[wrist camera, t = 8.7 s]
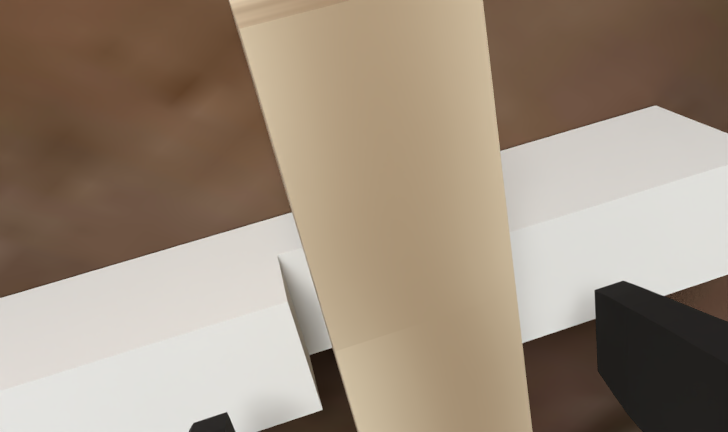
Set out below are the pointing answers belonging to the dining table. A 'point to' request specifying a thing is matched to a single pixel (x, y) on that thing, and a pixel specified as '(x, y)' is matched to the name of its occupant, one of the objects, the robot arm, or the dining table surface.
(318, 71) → the light wood plank
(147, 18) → the dining table surface
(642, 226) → the white building blocks
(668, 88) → the dining table surface
